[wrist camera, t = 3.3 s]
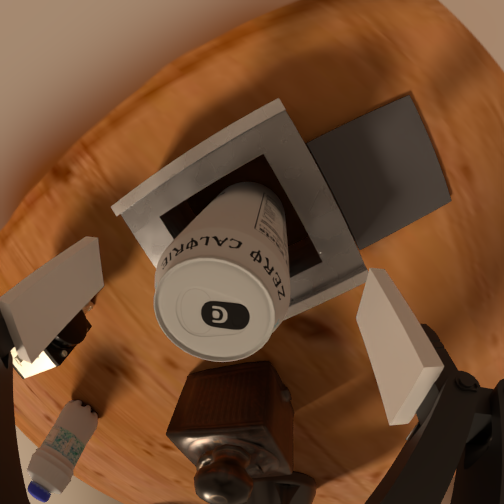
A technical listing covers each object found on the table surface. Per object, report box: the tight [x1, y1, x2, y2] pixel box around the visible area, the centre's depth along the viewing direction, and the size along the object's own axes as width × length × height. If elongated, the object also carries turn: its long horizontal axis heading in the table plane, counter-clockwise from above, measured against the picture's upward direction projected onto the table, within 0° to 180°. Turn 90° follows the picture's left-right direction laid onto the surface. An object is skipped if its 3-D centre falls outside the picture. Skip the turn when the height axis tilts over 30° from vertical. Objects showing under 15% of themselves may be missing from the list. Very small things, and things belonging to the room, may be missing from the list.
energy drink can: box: [154, 182, 290, 362], centre depth 18 cm, size 6×6×15 cm
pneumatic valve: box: [10, 300, 93, 379], centre depth 25 cm, size 6×12×12 cm, turn 119°
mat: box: [306, 95, 451, 250], centre depth 22 cm, size 10×10×1 cm
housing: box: [111, 98, 369, 320], centre depth 22 cm, size 13×13×7 cm
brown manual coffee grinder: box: [166, 361, 294, 504], centre depth 24 cm, size 16×11×18 cm
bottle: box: [27, 400, 98, 502], centre depth 30 cm, size 7×7×20 cm
